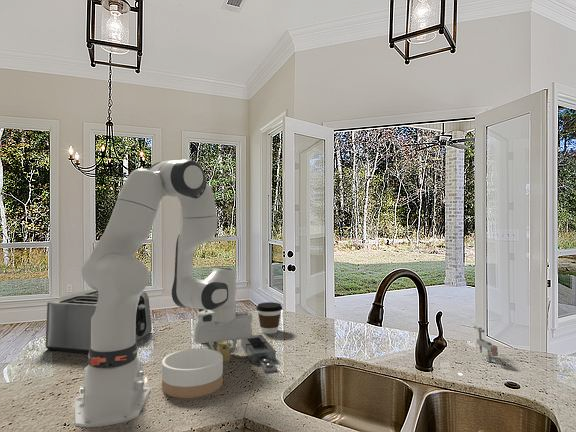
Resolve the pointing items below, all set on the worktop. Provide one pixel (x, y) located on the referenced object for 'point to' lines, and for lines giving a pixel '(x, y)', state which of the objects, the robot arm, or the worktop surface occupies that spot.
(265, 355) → the chain end near
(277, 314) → the coffee cup
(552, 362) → the worktop surface
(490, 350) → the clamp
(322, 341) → the worktop surface
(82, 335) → the toaster
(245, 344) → the chain end far
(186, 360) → the bowl
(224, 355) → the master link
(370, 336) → the worktop surface
